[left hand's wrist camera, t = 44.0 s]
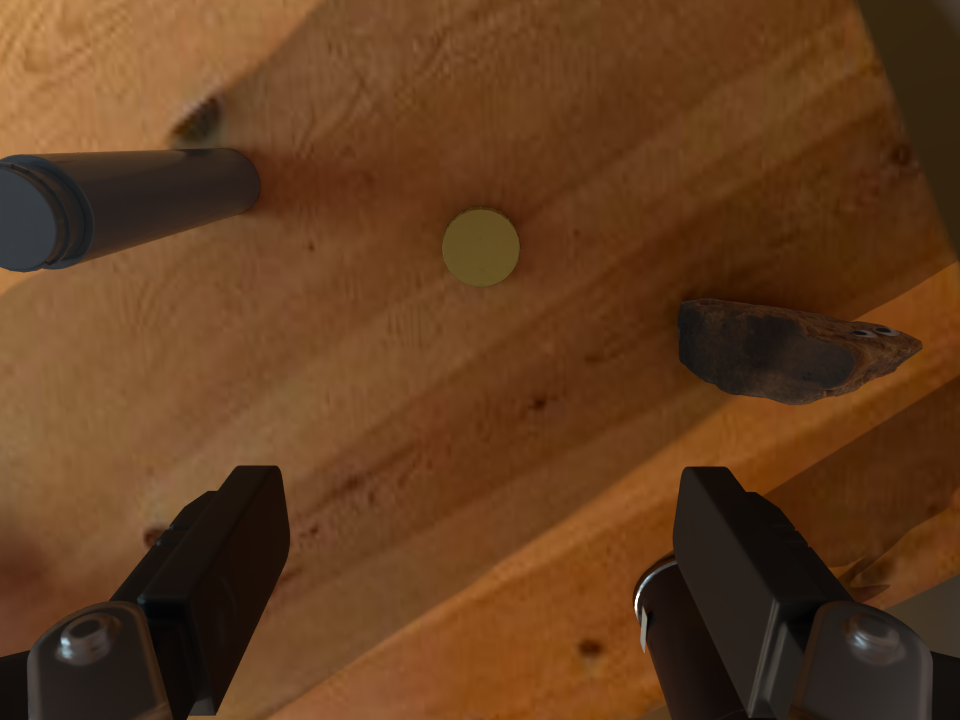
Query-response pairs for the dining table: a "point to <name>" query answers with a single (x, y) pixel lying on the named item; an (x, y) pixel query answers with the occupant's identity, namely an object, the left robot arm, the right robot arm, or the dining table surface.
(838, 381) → the decorative rock
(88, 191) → the grey canister
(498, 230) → the lid
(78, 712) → the left robot arm
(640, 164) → the dining table surface
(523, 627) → the dining table surface
